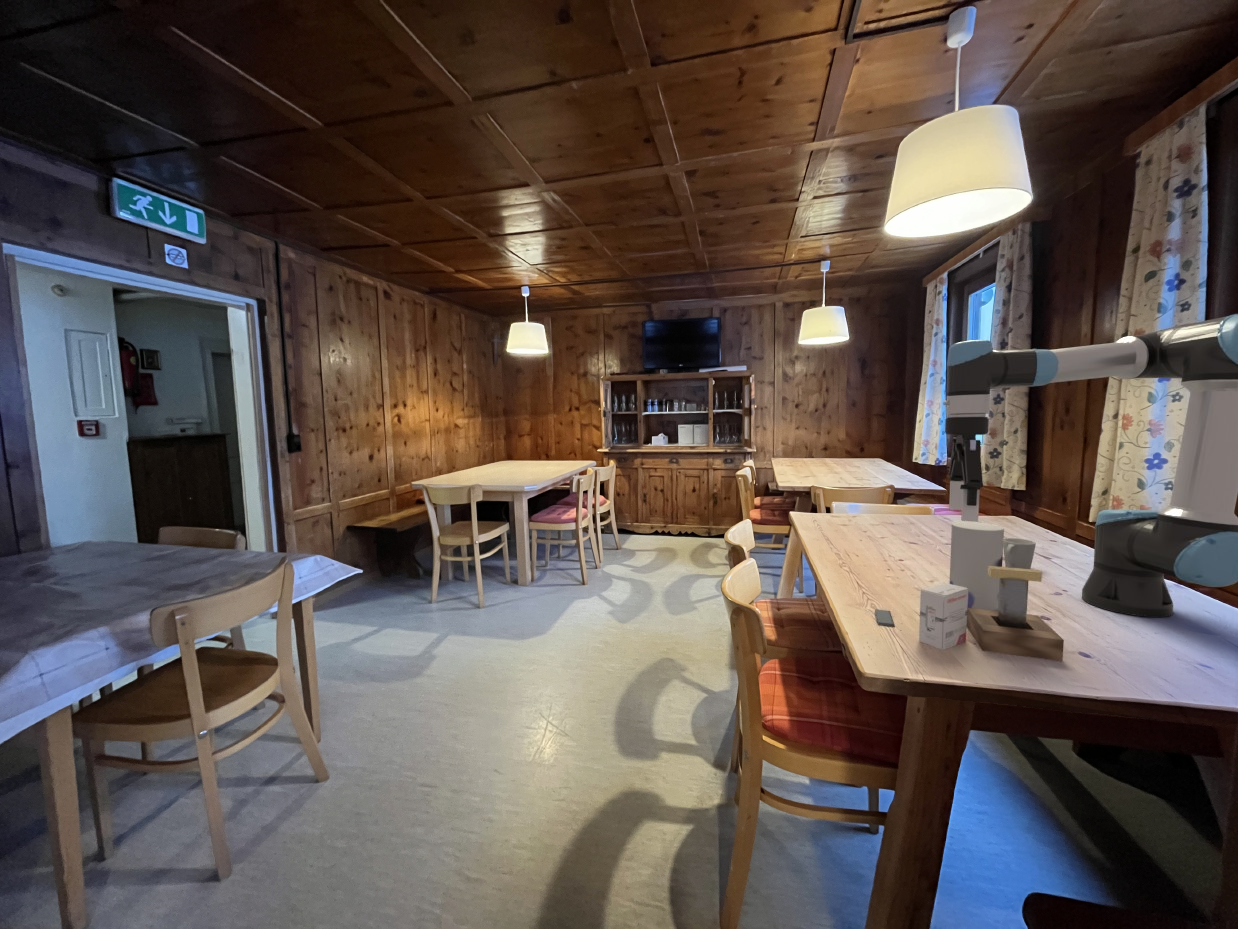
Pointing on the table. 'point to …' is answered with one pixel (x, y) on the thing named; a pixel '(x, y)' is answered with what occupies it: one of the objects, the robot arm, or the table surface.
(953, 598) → the ink box
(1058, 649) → the block
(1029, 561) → the cup
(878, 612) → the mat
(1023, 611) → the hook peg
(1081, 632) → the table surface
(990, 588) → the container
